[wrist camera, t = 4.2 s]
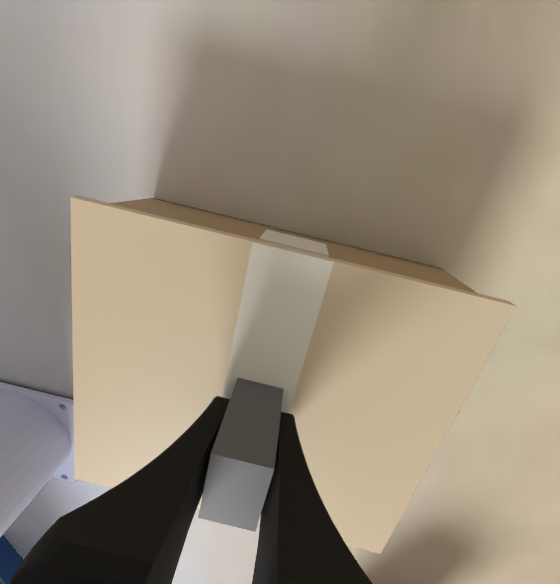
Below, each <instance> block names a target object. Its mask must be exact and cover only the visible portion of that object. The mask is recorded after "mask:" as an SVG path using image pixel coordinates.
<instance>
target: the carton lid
mask: <svg viewBox="0 0 560 584" xmlns="http://www.w3.org/2000/svg"><path fill="white" fill-rule="evenodd" d="M70 218H71V282H72V345H73V409H74V472H75V479H77V480H81V481H85V482H90V483H94V484H98V485H102V486H106V487H110V488H113V487H115V486H117V485H118V484H120V483H121V482H123V481H125V480H126V479H128V478H129V477H130V476H132V475H133V474H135V473H136V472H137V471H139V470H140V469H142V468H143V467H144V466H146V465H147V464H148V463H150V462H151V461H152V460H153V459H155V458H156V457H157V456H158V455H160V454H161V453H162V452H163V451H164V450H166V449H167V448H168V447H169V446H170V445H171V444H172V443H173V442H175V441H176V440H177V439H178V438H179V437H180V436H181V435H182V434H183V433H184V432H185V431H186V430H187V429H188V428H189V427H190V426H191V425H192V424H193V423H194V422H195V421H196V420H197V419H198V418H199V416H200V415H201V414H202V413H203V412H204V411H205V409H206V408H207V407H208V406H209V404H210V403H211V402H212V400H213V399H214V397H216V396H220V397H224V398H228V399H230V401H229V404H228V406H227V409H226V412H225V415H224V418H223V421H222V423H221V426H220V429H219V432H218V435H217V438H216V440H215V443H214V446H213V449H212V452H211V455H210V460H209V465H208V470H207V475H206V480H205V486H204V491H203V494H202V497H201V499H200V502H199V504H198V507H197V509H199V516H198V518H202V519H206V520H210V521H214V522H218V523H222V524H226V525H230V526H234V527H238V528H242V529H246V530H251V531H256V528H257V524H260V517H261V511H262V508H263V505H264V501H265V498H266V495H267V492H268V488H269V485H270V482H271V478H272V475H273V472H274V468H275V459H276V451H277V442H278V433H279V425H280V416H281V412H285V413H290V414H293V415H294V417H295V422H296V427H297V432H298V436H299V440H300V443H301V447H302V450H303V453H304V456H305V459H306V462H307V465H308V468H309V471H310V473H311V476H312V478H313V481H314V483H315V486H316V488H317V490H318V493H319V495H320V497H321V499H322V501H323V503H324V506H325V508H326V509H327V511H328V513H329V515H330V517H331V519H332V521H333V523H334V525H335V526H336V528H337V530H338V532H339V533H340V535H341V537H342V538H343V540H344V542H345V544H346V545H347V546H350V547H354V548H358V549H362V550H366V551H371V552H375V553H379V554H381V553H382V551H383V549H384V547H385V545H386V543H387V542H388V540H389V538H390V536H391V534H392V533H393V531H394V529H395V527H396V525H397V523H398V522H399V520H400V518H401V516H402V514H403V513H404V511H405V509H406V507H407V505H408V503H409V502H410V500H411V498H412V496H413V494H414V493H415V491H416V489H417V487H418V485H419V483H420V482H421V480H422V478H423V476H424V474H425V473H426V471H427V469H428V467H429V465H430V463H431V462H432V460H433V458H434V456H435V454H436V452H437V451H438V449H439V447H440V445H441V443H442V442H443V440H444V438H445V436H446V434H447V432H448V431H449V429H450V427H451V425H452V423H453V422H454V420H455V418H456V416H457V414H458V412H459V411H460V409H461V407H462V405H463V403H464V402H465V400H466V398H467V396H468V394H469V392H470V391H471V389H472V387H473V385H474V383H475V382H476V380H477V378H478V376H479V374H480V372H481V371H482V369H483V367H484V365H485V363H486V362H487V360H488V358H489V356H490V354H491V352H492V351H493V349H494V347H495V345H496V343H497V342H498V340H499V338H500V336H501V334H502V332H503V331H504V329H505V327H506V325H507V323H508V321H509V320H510V318H511V316H512V314H513V312H514V311H515V309H516V307H517V306H516V305H514V304H512V303H511V302H509V301H506V300H502V299H498V298H494V297H490V296H486V295H482V294H478V293H473V292H469V291H465V290H461V289H457V288H453V287H449V286H445V285H441V284H437V283H433V282H428V281H424V280H420V279H416V278H412V277H408V276H404V275H400V274H396V273H392V272H388V271H383V270H379V269H375V268H371V267H367V266H363V265H359V264H355V263H351V262H347V261H343V260H338V259H334V258H330V257H326V256H322V255H318V254H314V253H310V252H306V251H302V250H298V249H293V248H289V247H285V246H281V245H277V244H273V243H269V242H265V241H261V240H257V239H253V238H248V237H244V236H240V235H236V234H232V233H228V232H224V231H220V230H216V229H212V228H208V227H203V226H199V225H195V224H191V223H187V222H183V221H179V220H175V219H171V218H167V217H163V216H158V215H154V214H150V213H146V212H142V211H138V210H134V209H130V208H126V207H122V206H118V205H113V204H109V203H105V202H101V201H97V200H93V199H89V198H85V197H81V196H76V197H70Z"/></svg>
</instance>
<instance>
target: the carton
mask: <svg viewBox="0 0 560 584" xmlns="http://www.w3.org/2000/svg"><path fill="white" fill-rule="evenodd" d="M109 204H113V205H118V206H122V207H126V208H130V209H134V210H138V211H142V212H146V213H150V214H154V215H158V216H163V217H167V218H171V219H175V220H179V221H183V222H187V223H191V224H195V225H199V226H203V227H208V228H212V229H216V230H220V231H224V232H228V233H232V234H236V235H240V236H244V237H248V238H253V239H257V240H261V241H265V242H269V243H273V244H277V245H281V246H285V247H289V248H293V249H298V250H302V251H306V252H310V253H314V254H318V255H322V256H326V257H330V258H334V259H338V260H343V261H347V262H351V263H355V264H359V265H363V266H367V267H371V268H375V269H379V270H383V271H388V272H392V273H396V274H400V275H404V276H408V277H412V278H416V279H420V280H424V281H428V282H433V283H437V284H441V285H445V286H449V287H453V288H457V289H461V290H465V291H469V292H473V293H476V292H475V291H473V290H472V289H471V288H469V287H468V286H466V285H465V284H463V283H462V282H460V281H459V280H457V279H456V278H454V277H453V276H451V275H450V274H448V273H447V272H445V271H444V270H442V269H441V268H437V267H433V266H429V265H425V264H420V263H416V262H412V261H408V260H404V259H400V258H396V257H392V256H388V255H384V254H380V253H375V252H371V251H367V250H363V249H359V248H355V247H351V246H347V245H343V244H339V243H335V242H330V241H326V240H322V239H318V238H314V237H310V236H306V235H302V234H298V233H294V232H290V231H285V230H281V229H277V228H273V227H269V226H265V225H261V224H257V223H253V222H249V221H245V220H240V219H236V218H232V217H228V216H224V215H220V214H216V213H212V212H208V211H204V210H200V209H195V208H191V207H187V206H183V205H179V204H175V203H171V202H167V201H163V200H159V199H155V198H150V199H142V200H134V201H126V202H117V203H109Z"/></svg>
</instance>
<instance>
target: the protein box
mask: <svg viewBox="0 0 560 584" xmlns="http://www.w3.org/2000/svg"><path fill="white" fill-rule="evenodd" d="M22 562H23V560H22V558H21V557H20V556H19V554H18V553H17V552H16V551H15V549H14V548H13V547H12V546H11V545H10V543H9V542H8V541H7V540H6V538H5V537H4V536H3V535H2V536H1V537H0V584H10V583H11V577H12V576H13V574H14V573H15V571H16V570H17V569H18V567H19V566H20V565H21V563H22Z"/></svg>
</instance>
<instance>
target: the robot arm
mask: <svg viewBox="0 0 560 584" xmlns="http://www.w3.org/2000/svg"><path fill="white" fill-rule="evenodd" d="M229 401H230V399H228V398H224V397H220V396H216V397H214V399H213V400H212V402H211V403H210V404H209V406H208V407H207V408H206V409H205V411H204V412H203V413H202V414H201V415H200V416H199V418H198V419H197V420H196V421H195V422H194V423H193V424H192V425H191V426H190V427H189V428H188V429H187V430H186V431H185V432H184V433H183V434H182V435H181V436H180V437H179V438H178V439H177V440H176V441H175V442H173V443H172V444H171V445H170V446H169V447H168V448H167V449H166V450H164V451H163V452H162V453H161V454H160V455H158V456H157V457H156V458H155V459H153V460H152V461H151V462H150V463H148V464H147V465H146V466H144V467H143V468H142V469H140V470H139V471H137V472H136V473H135V474H133V475H132V476H130V477H129V478H128V479H126V480H125V481H123V482H121V483H120V484H118V485H117V486H115V487H113V488H112V489H110V490H109V491H107V492H105V493H104V494H102V495H101V496H99V497H97V498H95V499H94V500H92V501H90V502H88V503H86V504H85V505H83V506H81V507H79V508H77V509H75V510H73V511H72V512H70V513H68V514H66V515H64V516H62V517H60V518H59V519H58V520H57V521H56V522H55V523H54V524H53V525H52V526H51V527H50V529H49V530H48V531H47V532H46V533H45V534H44V535H43V536H42V538H41V539H40V540H39V541H38V542H37V543H36V544H35V546H34V547H33V548H32V550H31V551H30V552H29V554H28V555H27V556H26V558H25V559H24V561H23V562H22V563H21V565H20V566H19V567H18V569H17V570H16V571H15V573H14V574H13V576H12V577H11V583H10V584H171V583H172V580H173V577H174V574H175V570H176V567H177V564H178V561H179V558H180V555H181V552H182V548H183V545H184V542H185V539H186V536H187V533H188V530H189V527H190V524H191V522H192V519H193V516H194V514H195V511H196V509H197V507H198V504H199V502H200V499H201V497H202V494H203V491H204V486H205V480H206V475H207V470H208V465H209V460H210V455H211V452H212V449H213V446H214V443H215V440H216V438H217V435H218V432H219V429H220V426H221V423H222V421H223V418H224V415H225V412H226V409H227V406H228V404H229ZM51 478H54V479H58V480H62V481H66V482H70V483H75V482H77V479H75V472H74V409H73V400H72V399H68V398H64V397H59V396H55V395H51V394H47V393H43V392H39V391H35V390H31V389H27V388H23V387H19V386H15V385H11V384H6V383H2V382H0V537H1V536H2V535H3V534H4V533H5V531H6V530H7V529H8V528H9V527H10V526H11V524H12V523H13V522H14V521H15V520H16V519H17V518H18V516H19V515H20V514H21V513H22V512H23V511H24V509H25V508H26V507H27V506H28V505H29V504H30V502H31V501H32V500H33V499H34V498H35V497H36V495H37V494H38V493H39V492H40V491H41V490H42V488H43V487H44V486H45V485H46V484H47V483H48V481H49V480H50V479H51ZM252 584H372V582H371V581H370V580H369V578H368V577H367V576H366V574H365V573H364V571H363V570H362V569H361V567H360V566H359V564H358V563H357V561H356V560H355V558H354V556H353V555H352V553H351V552H350V550H349V549H348V547H347V545H346V544H345V542H344V540H343V538H342V537H341V535H340V533H339V532H338V530H337V528H336V526H335V525H334V523H333V521H332V519H331V517H330V515H329V513H328V511H327V509H326V508H325V506H324V503H323V501H322V499H321V497H320V495H319V493H318V490H317V488H316V486H315V483H314V481H313V478H312V476H311V473H310V471H309V468H308V465H307V462H306V459H305V456H304V453H303V450H302V447H301V443H300V440H299V436H298V432H297V427H296V422H295V417H294V415H293V414H290V413H285V412H281V416H280V425H279V433H278V442H277V451H276V459H275V468H274V472H273V475H272V478H271V482H270V485H269V488H268V492H267V495H266V498H265V501H264V505H263V508H262V511H261V517H260V531H259V540H258V549H257V555H256V561H255V568H254V574H253V581H252Z"/></svg>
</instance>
